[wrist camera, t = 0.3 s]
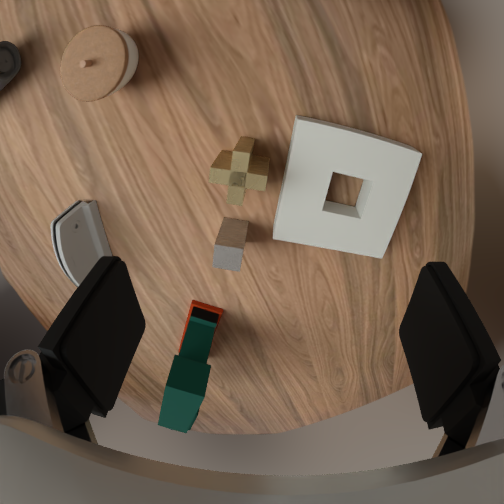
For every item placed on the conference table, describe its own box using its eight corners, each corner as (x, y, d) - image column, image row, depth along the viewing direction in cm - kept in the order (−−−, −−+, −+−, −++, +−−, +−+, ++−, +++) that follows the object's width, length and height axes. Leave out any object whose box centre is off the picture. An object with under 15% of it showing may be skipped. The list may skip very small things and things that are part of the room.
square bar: (223, 217, 48) (214, 244, 41) (248, 221, 48) (243, 249, 41) (221, 237, 50) (212, 266, 44) (245, 241, 50) (239, 271, 44)
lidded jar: (155, 83, 36) (125, 90, 28) (95, 102, 38) (60, 114, 30) (145, 19, 30) (113, 11, 23) (85, 42, 32) (47, 44, 24)
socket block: (295, 114, 38) (297, 119, 34) (411, 146, 38) (422, 153, 35) (273, 225, 48) (272, 238, 45) (375, 244, 48) (382, 258, 45)
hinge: (118, 272, 57) (85, 302, 50) (104, 267, 59) (72, 294, 51) (95, 198, 48) (52, 225, 40) (81, 196, 49) (41, 221, 42)
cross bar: (223, 133, 40) (212, 147, 34) (272, 141, 40) (271, 156, 34) (218, 178, 44) (207, 200, 38) (264, 185, 44) (261, 209, 38)
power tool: (197, 380, 78) (183, 443, 61) (173, 373, 77) (155, 435, 61) (225, 310, 60) (208, 396, 44) (192, 299, 59) (166, 384, 43)
